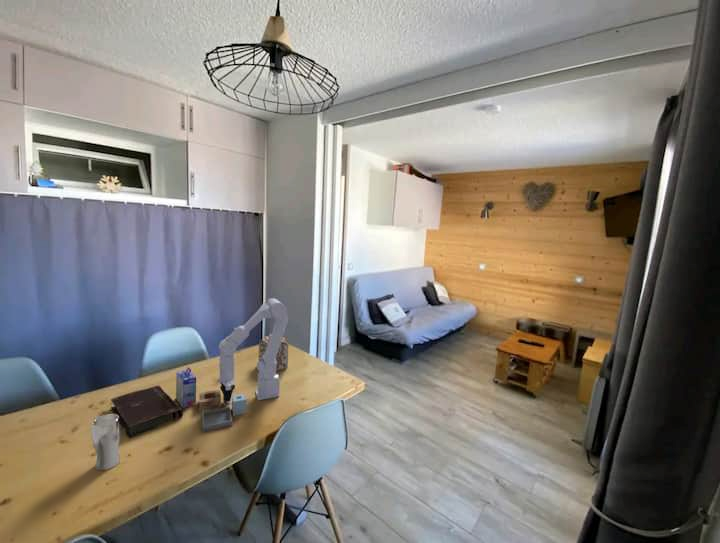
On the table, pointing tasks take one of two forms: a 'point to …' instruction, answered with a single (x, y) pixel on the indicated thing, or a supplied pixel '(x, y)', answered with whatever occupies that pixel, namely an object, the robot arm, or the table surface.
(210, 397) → the bore block
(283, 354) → the decorative jar
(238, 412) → the block
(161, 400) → the diary
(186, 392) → the ink cartridge box
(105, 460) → the beer glass
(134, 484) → the table surface
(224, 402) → the cylinder
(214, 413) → the tray
